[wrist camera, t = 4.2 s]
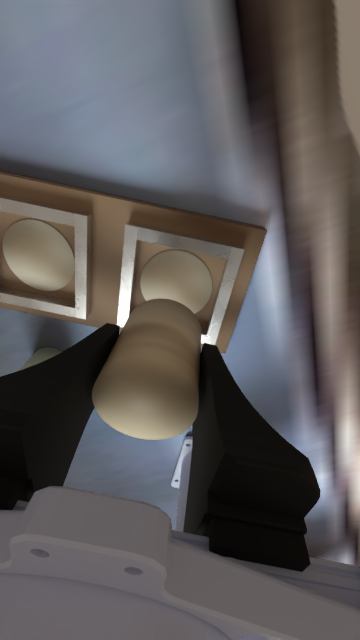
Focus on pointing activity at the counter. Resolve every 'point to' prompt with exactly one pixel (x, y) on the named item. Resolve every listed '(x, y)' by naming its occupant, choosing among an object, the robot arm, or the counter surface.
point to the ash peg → (152, 372)
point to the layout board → (119, 257)
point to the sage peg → (41, 356)
